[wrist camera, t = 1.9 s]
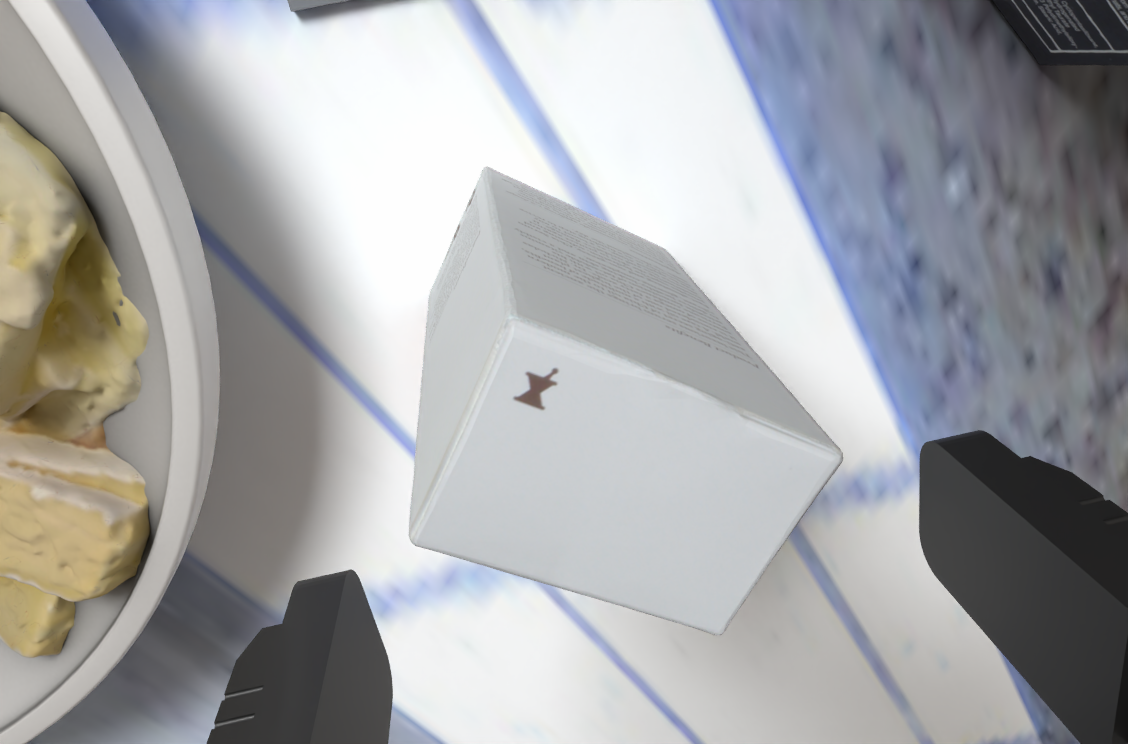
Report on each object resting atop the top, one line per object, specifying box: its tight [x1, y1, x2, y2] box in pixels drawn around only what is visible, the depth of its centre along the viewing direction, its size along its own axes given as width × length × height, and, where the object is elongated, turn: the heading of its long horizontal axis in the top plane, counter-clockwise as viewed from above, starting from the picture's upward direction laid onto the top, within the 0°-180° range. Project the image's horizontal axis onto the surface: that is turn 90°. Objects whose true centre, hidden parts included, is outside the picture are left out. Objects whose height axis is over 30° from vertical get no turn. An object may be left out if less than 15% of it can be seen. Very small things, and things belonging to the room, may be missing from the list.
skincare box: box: [409, 167, 843, 635], centre depth 18 cm, size 6×4×12 cm
